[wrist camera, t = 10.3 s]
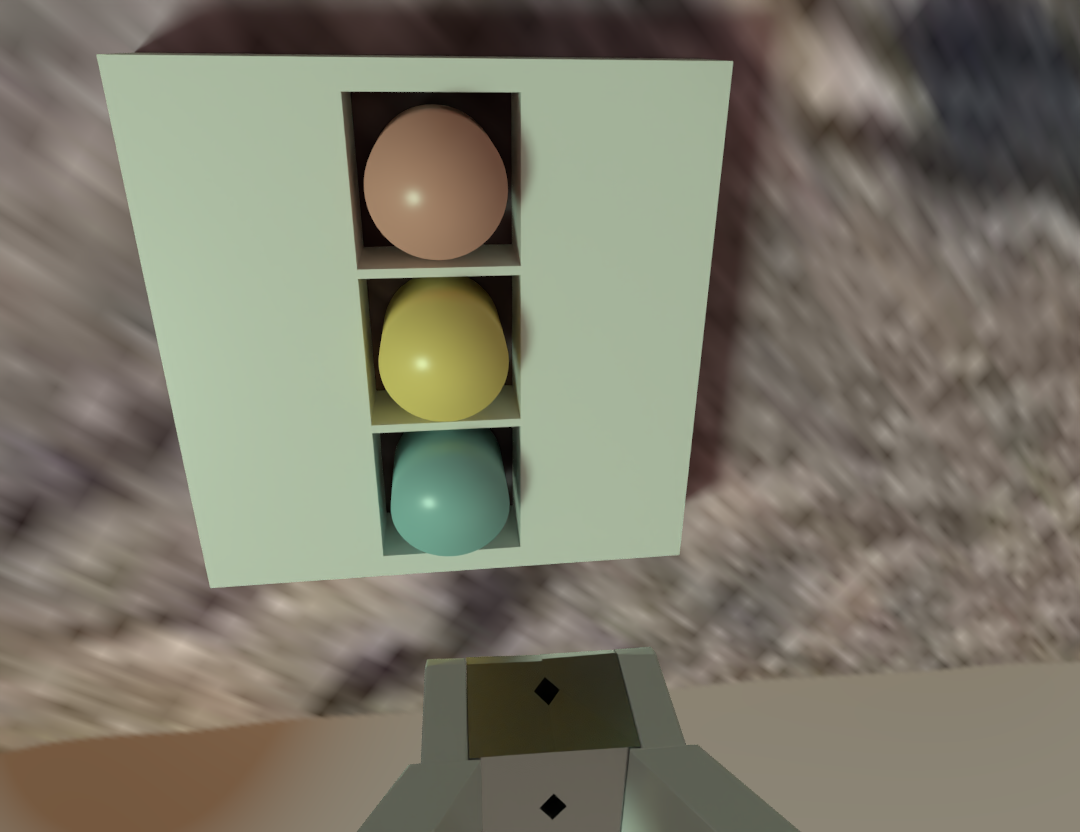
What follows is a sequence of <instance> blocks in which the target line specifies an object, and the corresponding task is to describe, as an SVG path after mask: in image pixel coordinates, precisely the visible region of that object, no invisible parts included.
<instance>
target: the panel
mask: <svg viewBox="0 0 1080 832" xmlns="http://www.w3.org/2000/svg"><path fill="white" fill-rule="evenodd" d="M96 55H97V60H98V64H99V69H100V74H101V78H102V83H103V88H104V92H105V97H106V102H107V106H108V111H109V116H110V120H111V125H112V130H113V135H114V139H115V144H116V149H117V153H118V158H119V163H120V167H121V172H122V177H123V181H124V186H125V191H126V195H127V200H128V205H129V210H130V214H131V219H132V224H133V228H134V233H135V238H136V242H137V247H138V252H139V256H140V261H141V266H142V270H143V275H144V280H145V284H146V289H147V294H148V299H149V303H150V308H151V313H152V317H153V322H154V327H155V331H156V336H157V341H158V345H159V350H160V355H161V359H162V364H163V369H164V374H165V378H166V383H167V388H168V392H169V397H170V402H171V406H172V411H173V416H174V420H175V425H176V430H177V434H178V439H179V444H180V448H181V453H182V458H183V463H184V467H185V472H186V477H187V481H188V486H189V491H190V495H191V500H192V505H193V509H194V514H195V519H196V523H197V528H198V533H199V537H200V542H201V547H202V552H203V556H204V561H205V566H206V570H207V575H208V580H209V584H210V588H216V587H231V586H245V585H259V584H273V583H287V582H301V581H316V580H330V579H344V578H358V577H372V576H386V575H401V574H415V573H429V572H443V571H457V570H471V569H486V568H500V567H514V566H528V565H542V564H556V563H571V562H585V561H599V560H613V559H627V558H641V557H656V556H670V555H679V553H680V544H681V535H682V526H683V517H684V508H685V498H686V489H687V480H688V471H689V462H690V453H691V444H692V434H693V425H694V416H695V407H696V398H697V389H698V380H699V370H700V361H701V352H702V343H703V334H704V325H705V315H706V306H707V297H708V288H709V279H710V270H711V261H712V251H713V242H714V233H715V224H716V215H717V206H718V197H719V187H720V178H721V169H722V160H723V151H724V142H725V132H726V123H727V114H728V105H729V96H730V87H731V78H732V68H733V61H725V60H712V59H679V58H586V57H494V56H401V55H309V54H216V53H115V54H96ZM350 92H511V182H512V244H493V245H481V246H480V247H478V248H477V249H475V250H474V251H472V252H470V253H468V254H466V255H463V256H461V257H458V258H453V259H448V260H429V259H423V258H419V257H416V256H413V255H411V254H408V253H406V252H404V251H402V250H401V249H399V248H398V247H396V246H388V247H364V244H363V232H362V221H361V209H360V197H359V186H358V174H357V163H356V151H355V140H354V128H353V117H352V105H351V93H350ZM502 275H512V385H503V387H502V389H501V391H500V393H499V394H498V395H497V397H496V398H495V399H494V400H493V401H492V403H491V404H489V405H488V406H487V407H486V408H485V409H483V410H482V411H480V412H479V413H477V414H475V415H473V416H470V417H468V418H465V419H461V420H457V421H449V422H438V421H430V420H426V419H423V418H420V417H417V416H415V415H413V414H411V413H409V412H407V411H406V410H404V409H403V408H402V407H400V406H399V405H398V404H397V403H396V402H395V401H394V400H393V399H392V397H391V396H390V395H389V393H388V392H387V390H381V391H376V382H375V371H374V359H373V348H372V336H371V325H370V313H369V301H368V290H367V279H377V278H419V277H460V276H502ZM493 427H512V462H513V505H510V508H509V514H508V518H507V521H506V523H505V525H504V527H503V529H502V530H501V531H500V533H499V534H498V535H497V536H496V537H495V538H494V539H493V540H492V541H491V542H490V543H488V544H487V545H485V546H484V547H482V548H480V549H478V550H476V551H474V552H471V553H468V554H464V555H459V556H437V555H432V554H429V553H426V552H423V551H421V550H419V549H417V548H415V547H413V546H412V545H410V544H409V543H408V542H407V541H405V539H404V538H403V537H402V536H401V535H400V534H399V532H398V531H397V529H396V527H395V525H394V523H393V520H392V515H391V513H387V509H386V498H385V486H384V475H383V463H382V452H381V440H380V433H390V432H411V431H431V430H452V429H473V428H493Z"/></svg>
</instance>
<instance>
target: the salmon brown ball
mask: <svg viewBox="0 0 1080 832" xmlns="http://www.w3.org/2000/svg"><path fill="white" fill-rule="evenodd" d="M364 194H365V200H366V204H367V207H368V210H369V213H370V215H371V217H372V219H373V221H374V223H375V225H376V226H377V228H378V229H379V230H380V232H381V233H382V234H383V235H384V236H385V237H386V238H387V239H388V240H389V241H390V242H391V243H392V244H394V245H395V246H396V247H398V248H399V249H401V250H402V251H404V252H406V253H408V254H411V255H413V256H416V257H419V258H423V259H429V260H448V259H453V258H458V257H461V256H463V255H466V254H468V253H470V252H472V251H474V250H475V249H477V248H478V247H480V246H481V245H482V244H483V243H485V242H486V241H487V240H488V239H489V238H490V236H491V235H492V234H493V233H494V232H495V230H496V228H497V227H498V225H499V223H500V221H501V219H502V217H503V214H504V211H505V208H506V203H507V197H508V182H507V175H506V170H505V167H504V164H503V161H502V159H501V157H500V155H499V153H498V151H497V149H496V148H495V146H494V145H493V143H492V142H491V140H490V139H489V137H488V135H487V134H486V132H485V131H484V130H483V128H482V127H481V126H480V125H479V124H478V123H477V122H476V121H475V120H474V119H473V118H471V117H470V116H468V115H467V114H466V113H464V112H462V111H460V110H458V109H455V108H453V107H450V106H445V105H440V104H424V105H419V106H415V107H412V108H409V109H407V110H405V111H403V112H401V113H400V114H398V115H397V116H396V117H394V118H393V119H392V120H391V121H390V122H389V123H388V124H387V125H386V126H385V127H384V129H383V130H382V132H381V133H380V135H379V137H378V139H377V141H376V143H375V145H374V147H373V149H372V151H371V154H370V156H369V159H368V161H367V165H366V169H365V175H364Z"/></svg>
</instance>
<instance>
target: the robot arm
mask: <svg viewBox="0 0 1080 832" xmlns="http://www.w3.org/2000/svg"><path fill="white" fill-rule="evenodd" d="M466 671H467V688H466ZM421 751H422V752H421V764H410V765H408V767H407V768H406V769H405V770H404V772H403V773H402V774H401V776H400V777H399V778H398V780H397V781H396V782H395V783H394V785H393V786H392V787H391V788H390V790H389V791H388V793H387V794H386V795H385V796H384V797H383V799H382V800H381V801H380V803H379V804H378V805H377V807H376V808H375V809H374V810H373V812H372V813H371V814H370V816H369V817H368V818H367V819H366V821H365V822H364V823H363V825H362V826H361V827H360V828H359V830H358V831H357V832H800V831H799V830H798V829H797V828H795V827H794V826H793V825H792V824H791V823H790V822H789V821H787V820H786V819H785V818H784V817H783V816H781V815H780V814H779V813H778V812H777V811H775V810H774V809H773V808H772V807H771V806H769V805H768V804H767V803H766V802H765V801H764V800H763V799H761V798H760V797H759V796H758V795H756V794H755V793H754V792H753V791H752V790H751V789H749V788H748V787H747V786H746V785H744V783H742V782H741V781H740V780H739V779H738V778H736V777H735V776H734V775H733V774H732V773H731V772H729V771H728V770H727V769H726V768H725V767H723V766H722V765H721V764H720V763H719V762H718V761H716V760H715V759H714V758H713V757H712V756H710V755H709V754H708V753H707V752H706V751H705V750H703V749H702V748H701V747H700V746H698V745H686V743H685V740H684V737H683V734H682V731H681V728H680V725H679V722H678V719H677V716H676V713H675V710H674V707H673V704H672V701H671V698H670V695H669V692H668V689H667V686H666V683H665V680H664V677H663V674H662V671H661V668H660V665H659V662H658V659H657V656H656V653H655V651H654V650H653V649H652V648H651V647H642V648H628V649H614V651H612V650H603V651H588V652H572V653H557V654H542V655H524V656H493V657H466V661H465V658H463V659H427V662H426V666H425V679H424V702H423V727H422V750H421Z"/></svg>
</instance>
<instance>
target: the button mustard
mask: <svg viewBox="0 0 1080 832" xmlns="http://www.w3.org/2000/svg"><path fill="white" fill-rule="evenodd" d="M508 368H509V355H508V350H507V345H506V341H505V338H504V334H503V330H502V326H501V323H500V319H499V315H498V311H497V309H496V306H495V304H494V302H493V300H492V298H491V297H490V296H489V294H488V293H487V292H486V291H485V290H484V289H483V288H482V287H481V286H480V285H479V284H478V283H476V282H475V281H473V280H472V279H470V278H468V277H465V276H460V277H419V278H413V279H411V280H409V281H408V282H407V283H405V284H404V285H403V286H402V287H400V288H399V289H398V290H397V292H396V293H395V294H394V295H393V297H392V299H391V300H390V302H389V304H388V306H387V309H386V313H385V317H384V324H383V331H382V338H381V345H380V352H379V371H380V376H381V379H382V382H383V384H384V386H385V389H386V390H387V392H388V393H389V395H390V396H391V397H392V399H393V400H394V401H395V402H396V403H397V404H398V405H399V406H400V407H402V408H403V409H404V410H406V411H407V412H409V413H411V414H413V415H415V416H417V417H420V418H423V419H426V420H430V421H438V422H449V421H457V420H461V419H465V418H468V417H470V416H473V415H475V414H477V413H479V412H480V411H482V410H483V409H485V408H486V407H487V406H488V405H489V404H491V403H492V401H493V400H494V399H495V398H496V397H497V395H498V394H499V393H500V391H501V389H502V387H503V385H504V383H505V380H506V378H507V374H508Z"/></svg>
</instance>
